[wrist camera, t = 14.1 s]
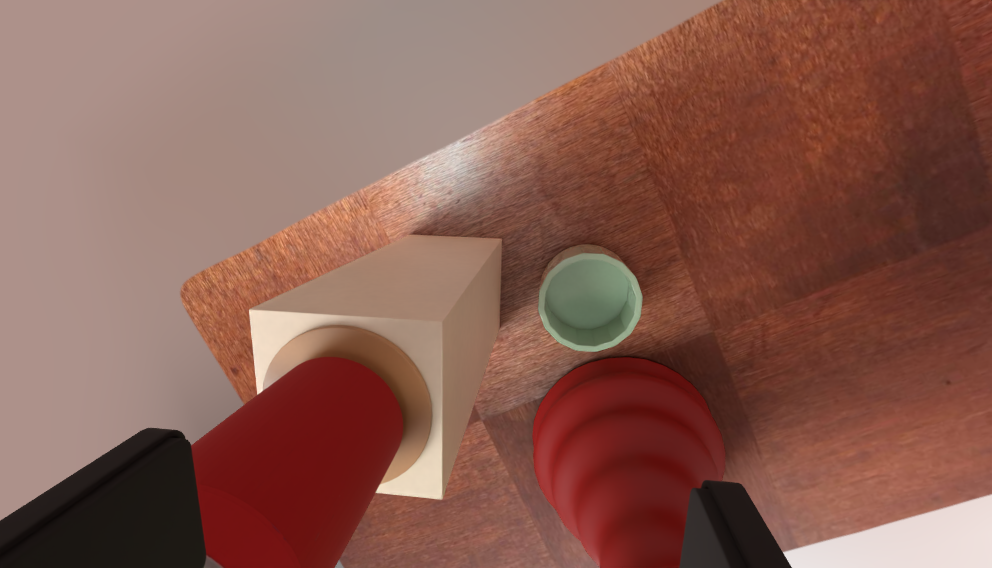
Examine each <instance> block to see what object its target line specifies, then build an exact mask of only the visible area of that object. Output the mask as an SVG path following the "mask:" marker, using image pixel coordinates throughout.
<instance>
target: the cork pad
mask: <svg viewBox="0 0 992 568" xmlns="http://www.w3.org/2000/svg"><path fill="white" fill-rule="evenodd" d="M320 357H340V358H345V359H349V360H352V361H355V362H358V363H360V364H362V365H364V366H366V367H367V368H369V369H370V370H372V371H373V372H375V373H376V374H377V375H378V376H379V377H381V378H382V379H383V380H384V381H385V383H386V384H387V385H388V386H389V387H390V389H391V390H392V392H393V393H394V395H395V397H396V399H397V401H398V403H399V406H400V409H401V413H402V418H403V435H402V440H401V444H400V447H399V449H398V451H397V453H396V455H395V457H394V459H393V461H392V462H391V464H390V466H389V468H388V470H387V472H386V474H385V476H384V478H383V480H382V481H381V483H380V484H383V483H386V482H389V481H391V480H393V479H395V478H397V477H399V476H400V475H401V474H403V473H404V472H406V471H407V470H408V469H409V468H410V467H411V466H412V465H413V464H414V463H415V462H416V461H417V459H418V458H419V457H420V455H421V453H422V452H423V450H424V448H425V446H426V444H427V441H428V439H429V436H430V432H431V427H432V417H433V413H432V403H431V398H430V393H429V391H428V388H427V385H426V382H425V381H424V379H423V377H422V375H421V373H420V371H419V370H418V368H417V367H416V365H415V364H414V363H413V361H412V360H411V359H410V358H409V357H408V356H407V355H406V354H405V353H404V352H403V351H402V350H401V349H400V348H399V347H398V346H396V345H395V344H393V343H392V342H391V341H389V340H388V339H386V338H384V337H382V336H380V335H378V334H376V333H374V332H371V331H369V330H366V329H362V328H358V327H354V326H346V325H329V326H322V327H318V328H314V329H311V330H308V331H306V332H304V333H302V334H300V335H298V336H297V337H295V338H293V339H292V340H290V341H289V342H288V343H287V344H285V345H284V346H283V347H282V348H281V349H280V350H279V351H278V353H277V354H276V355H275V356H274V358H273V360H272V361H271V363H270V365H269V367H268V369H267V372H266V375H265V378H264V382H263V390H265V389H266V388H267V387H269V386H270V385H271V384H273V383H274V382H275V381H277V380H278V379H280V378H281V377H282V376H284V375H285V374H286V373H288V372H289V371H290V370H292V369H293V368H294V367H296V366H297V365H299V364H301V363H303V362H305V361H308V360H311V359H315V358H320ZM263 390H262V391H263Z"/></svg>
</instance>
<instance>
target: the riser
mask: <svg viewBox="0 0 992 568" xmlns="http://www.w3.org/2000/svg"><path fill="white" fill-rule="evenodd" d="M501 264H502V239H500V238H478V237H455V236H433V235H408V236H405V237H403V238H401V239H399V240H397V241H395V242H393V243H390V244H388V245H386V246H384V247H382V248H380V249H378V250H375V251H373V252H371V253H369V254H367V255H365V256H362V257H360V258H358V259H356V260H354V261H352V262H350V263H347V264H345V265H343V266H341V267H339V268H337V269H335V270H332V271H330V272H328V273H326V274H324V275H322V276H320V277H317V278H315V279H313V280H311V281H309V282H307V283H305V284H302V285H300V286H298V287H296V288H294V289H292V290H290V291H287V292H285V293H283V294H281V295H279V296H277V297H274V298H272V299H270V300H268V301H266V302H264V303H262V304H259V305H257V306H255V307H253V308H251V309H249V315H250V324H251V334H252V344H253V354H254V364H255V374H256V384H257V394H259V393H261V392H262V390H263V382H264V378H265V375H266V372H267V369H268V367H269V365H270V363H271V361H272V360H273V358H274V356H275V355H276V354H277V353H278V351H279V350H280V349H281V348H282V347H283V346H284V345H285V344H287V343H288V342H289V341H290V340H292V339H293V338H295V337H297V336H298V335H300V334H302V333H304V332H306V331H308V330H311V329H314V328H318V327H322V326H329V325H346V326H354V327H358V328H362V329H366V330H369V331H371V332H374V333H376V334H378V335H380V336H382V337H384V338H386V339H388V340H389V341H391V342H392V343H393V344H395V345H396V346H398V347H399V348H400V349H401V350H402V351H403V352H404V353H405V354H406V355H407V356H408V357H409V358H410V359H411V360H412V361H413V363H414V364H415V365H416V367H417V368H418V370H419V371H420V373H421V375H422V377H423V379H424V381H425V382H426V385H427V388H428V391H429V393H430V398H431V403H432V413H433V417H432V427H431V432H430V436H429V439H428V441H427V444H426V446H425V448H424V450H423V452H422V453H421V455H420V457H419V458H418V459H417V461H416V462H415V463H414V464H413V465H412V466H411V467H410V468H409V469H408V470H407V471H406V472H404V473H403V474H401V475H400V476H399V477H397V478H395V479H393V480H391V481H389V482H386V483H383V484H380V485H379V487H378V489H377V491H376V493H385V494H395V495H404V496H414V497H423V498H433V499H443V496H444V493H445V490H446V487H447V484H448V481H449V478H450V475H451V472H452V469H453V466H454V463H455V460H456V457H457V454H458V451H459V448H460V445H461V442H462V439H463V436H464V433H465V430H466V427H467V424H468V421H469V418H470V415H471V412H472V409H473V406H474V403H475V400H476V397H477V394H478V391H479V388H480V385H481V382H482V379H483V376H484V373H485V370H486V368H487V365H488V362H489V359H490V356H491V353H492V350H493V347H494V344H495V341H496V338H497V335H498V332H499V329H500V296H501Z"/></svg>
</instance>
